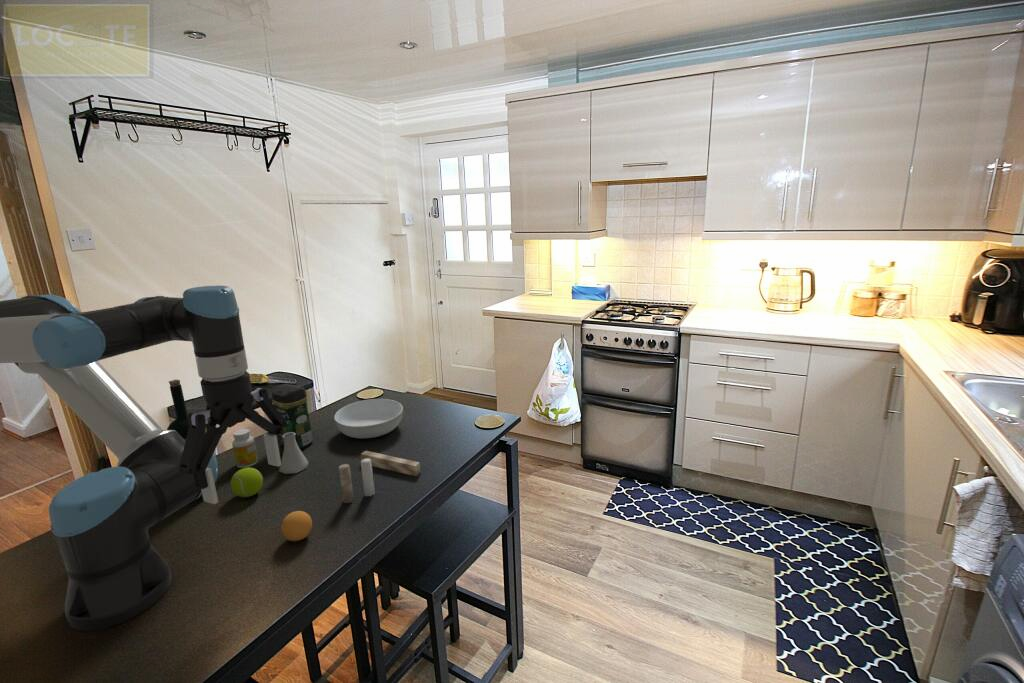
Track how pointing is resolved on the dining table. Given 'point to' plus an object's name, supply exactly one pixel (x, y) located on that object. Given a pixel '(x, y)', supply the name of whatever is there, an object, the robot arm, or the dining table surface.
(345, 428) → the serving bowl
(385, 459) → the back wall
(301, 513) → the ball
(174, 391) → the wine bottle
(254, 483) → the tennis ball
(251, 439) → the supplement bottle
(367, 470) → the pin
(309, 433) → the coffee jar
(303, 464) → the flask
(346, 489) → the pin
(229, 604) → the dining table surface
